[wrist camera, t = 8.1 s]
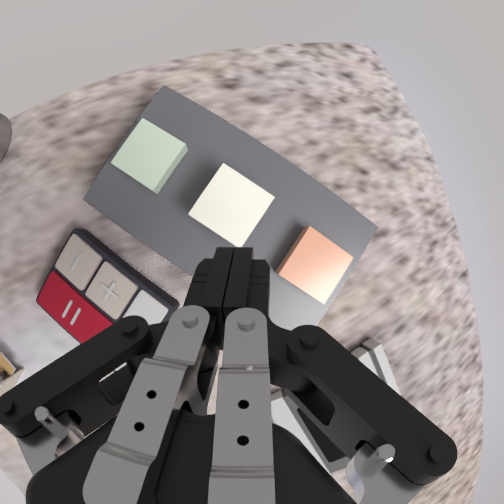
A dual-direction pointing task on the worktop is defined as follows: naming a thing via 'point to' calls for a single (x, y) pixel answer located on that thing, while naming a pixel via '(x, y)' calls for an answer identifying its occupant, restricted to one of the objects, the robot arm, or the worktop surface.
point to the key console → (194, 183)
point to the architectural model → (8, 374)
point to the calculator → (98, 290)
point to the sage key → (150, 155)
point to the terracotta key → (314, 264)
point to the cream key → (231, 205)
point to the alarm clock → (307, 431)
